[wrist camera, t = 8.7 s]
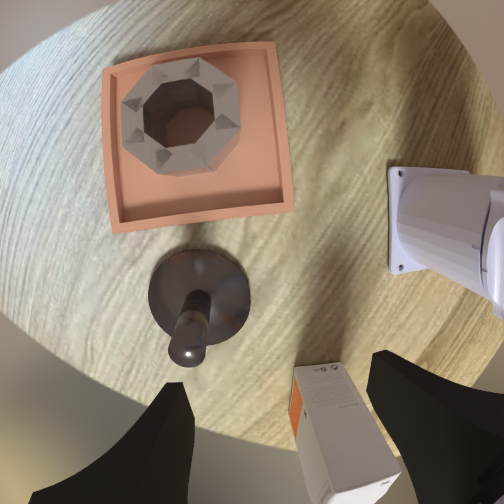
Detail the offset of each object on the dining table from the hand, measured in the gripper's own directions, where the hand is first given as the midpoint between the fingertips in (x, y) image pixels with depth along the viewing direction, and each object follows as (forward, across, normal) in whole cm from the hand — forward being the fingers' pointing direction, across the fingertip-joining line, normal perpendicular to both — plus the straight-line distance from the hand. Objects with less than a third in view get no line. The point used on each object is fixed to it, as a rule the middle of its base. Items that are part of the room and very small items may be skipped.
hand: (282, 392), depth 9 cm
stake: (+10, +4, 0) cm, 11 cm away
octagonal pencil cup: (+9, +3, -11) cm, 15 cm away
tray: (+10, +3, -11) cm, 15 cm away
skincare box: (+10, -4, +10) cm, 15 cm away
